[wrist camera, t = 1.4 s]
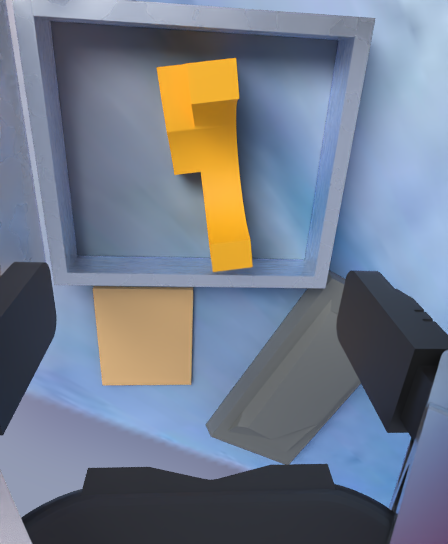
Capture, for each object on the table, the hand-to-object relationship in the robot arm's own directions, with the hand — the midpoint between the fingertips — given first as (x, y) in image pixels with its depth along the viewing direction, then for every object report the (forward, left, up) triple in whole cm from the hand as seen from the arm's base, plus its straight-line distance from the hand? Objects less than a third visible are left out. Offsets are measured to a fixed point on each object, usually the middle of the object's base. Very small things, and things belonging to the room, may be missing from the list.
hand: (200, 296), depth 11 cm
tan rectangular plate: (+4, +16, -20) cm, 26 cm away
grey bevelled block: (-11, +20, -21) cm, 31 cm away
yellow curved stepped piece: (-1, 0, -20) cm, 21 cm away
